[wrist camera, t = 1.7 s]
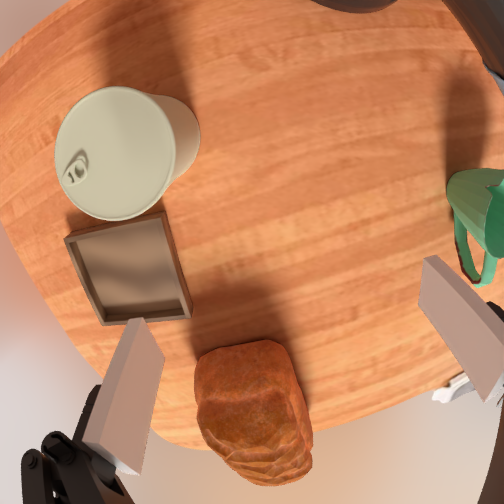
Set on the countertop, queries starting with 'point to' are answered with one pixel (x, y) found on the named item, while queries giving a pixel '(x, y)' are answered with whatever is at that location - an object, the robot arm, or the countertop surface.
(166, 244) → the tray
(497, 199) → the mug
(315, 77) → the countertop surface
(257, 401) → the bread
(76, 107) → the can
